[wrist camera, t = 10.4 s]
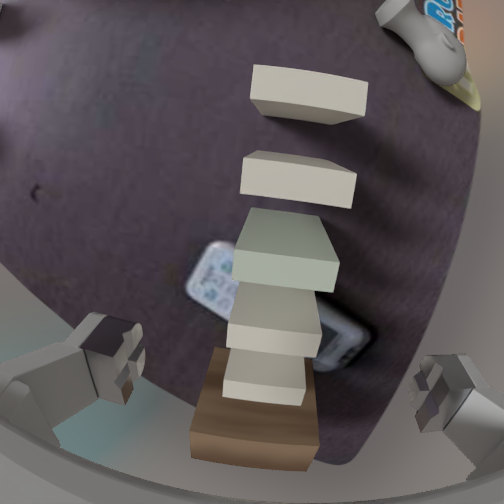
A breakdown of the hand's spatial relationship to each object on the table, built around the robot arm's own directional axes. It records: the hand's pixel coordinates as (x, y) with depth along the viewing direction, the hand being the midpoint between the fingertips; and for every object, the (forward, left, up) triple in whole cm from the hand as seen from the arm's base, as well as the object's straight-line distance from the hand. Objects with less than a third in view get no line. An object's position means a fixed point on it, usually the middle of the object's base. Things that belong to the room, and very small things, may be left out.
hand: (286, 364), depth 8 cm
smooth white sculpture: (-16, +9, -16) cm, 24 cm away
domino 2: (-4, 0, -16) cm, 17 cm away
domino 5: (+9, 0, -16) cm, 18 cm away
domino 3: (0, 0, -16) cm, 16 cm away
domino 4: (+5, 0, -16) cm, 17 cm away
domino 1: (-8, 0, -16) cm, 18 cm away
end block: (+15, 0, -16) cm, 22 cm away
